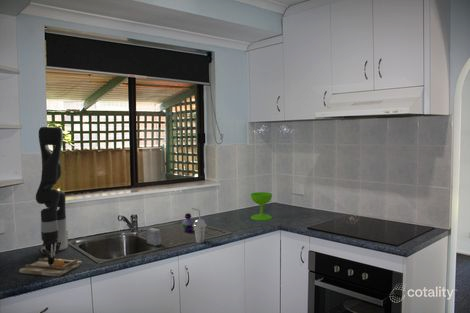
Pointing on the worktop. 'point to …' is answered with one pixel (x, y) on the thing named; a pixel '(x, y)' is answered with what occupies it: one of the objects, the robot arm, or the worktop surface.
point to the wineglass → (261, 204)
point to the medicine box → (153, 236)
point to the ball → (58, 263)
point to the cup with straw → (199, 228)
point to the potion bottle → (188, 223)
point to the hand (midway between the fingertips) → (51, 264)
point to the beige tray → (49, 267)
